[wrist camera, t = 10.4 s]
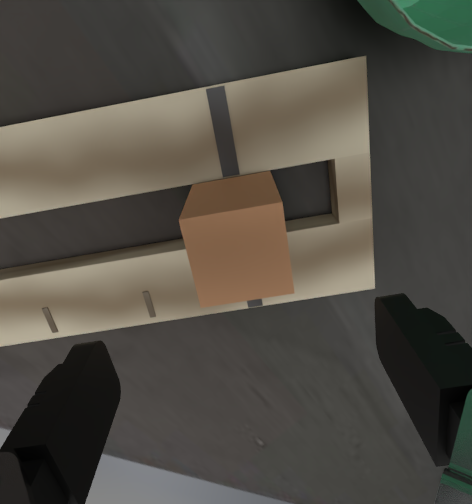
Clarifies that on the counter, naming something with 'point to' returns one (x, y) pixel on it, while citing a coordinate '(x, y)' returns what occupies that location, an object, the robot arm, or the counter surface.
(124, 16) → the counter surface
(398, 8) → the mug
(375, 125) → the counter surface
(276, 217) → the fader knob
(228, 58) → the counter surface
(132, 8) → the counter surface
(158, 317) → the board
